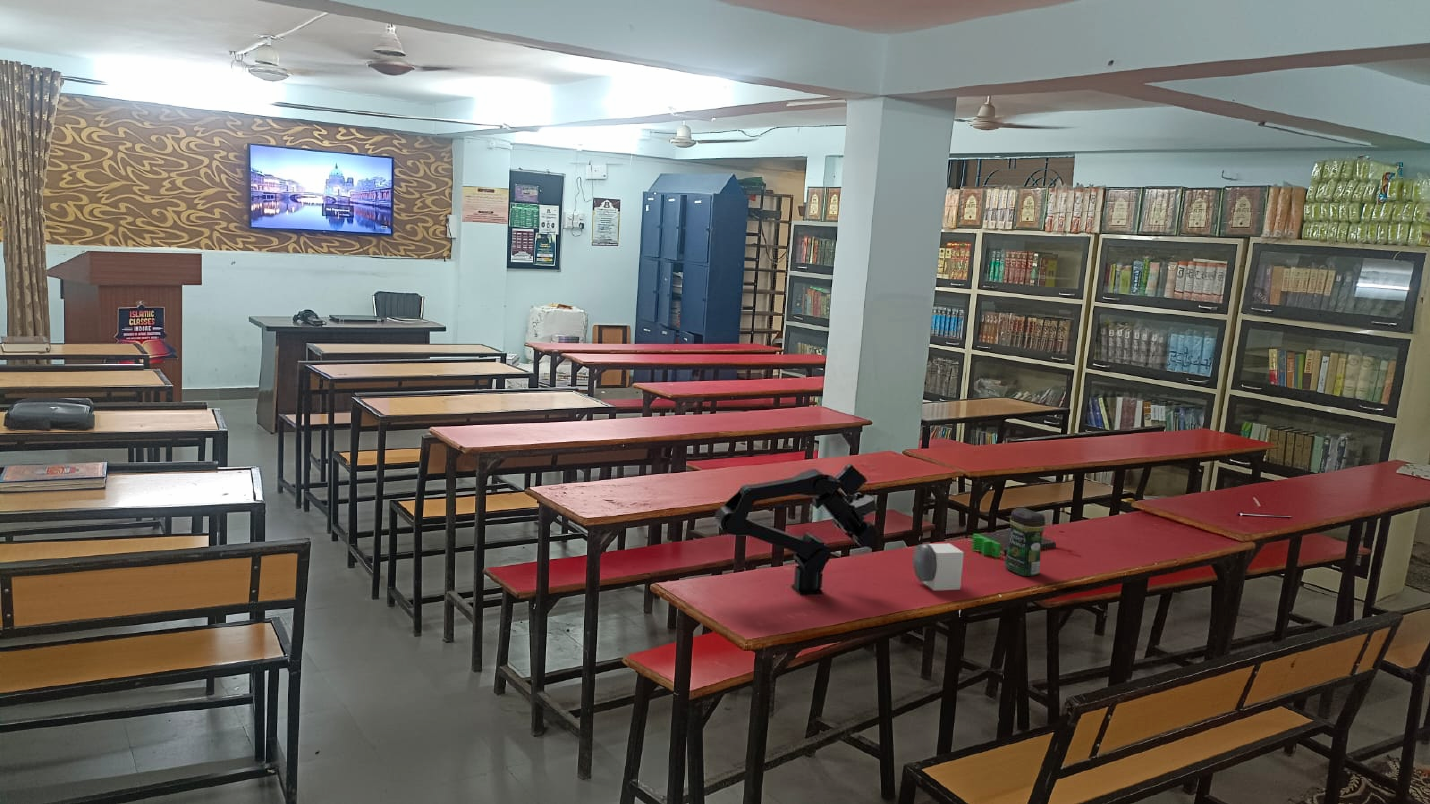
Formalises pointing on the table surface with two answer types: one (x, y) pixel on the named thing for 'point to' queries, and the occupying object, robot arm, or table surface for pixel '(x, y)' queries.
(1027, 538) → the coffee jar
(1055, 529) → the table surface
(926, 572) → the knob
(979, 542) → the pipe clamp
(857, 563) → the table surface
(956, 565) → the block
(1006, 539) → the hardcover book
